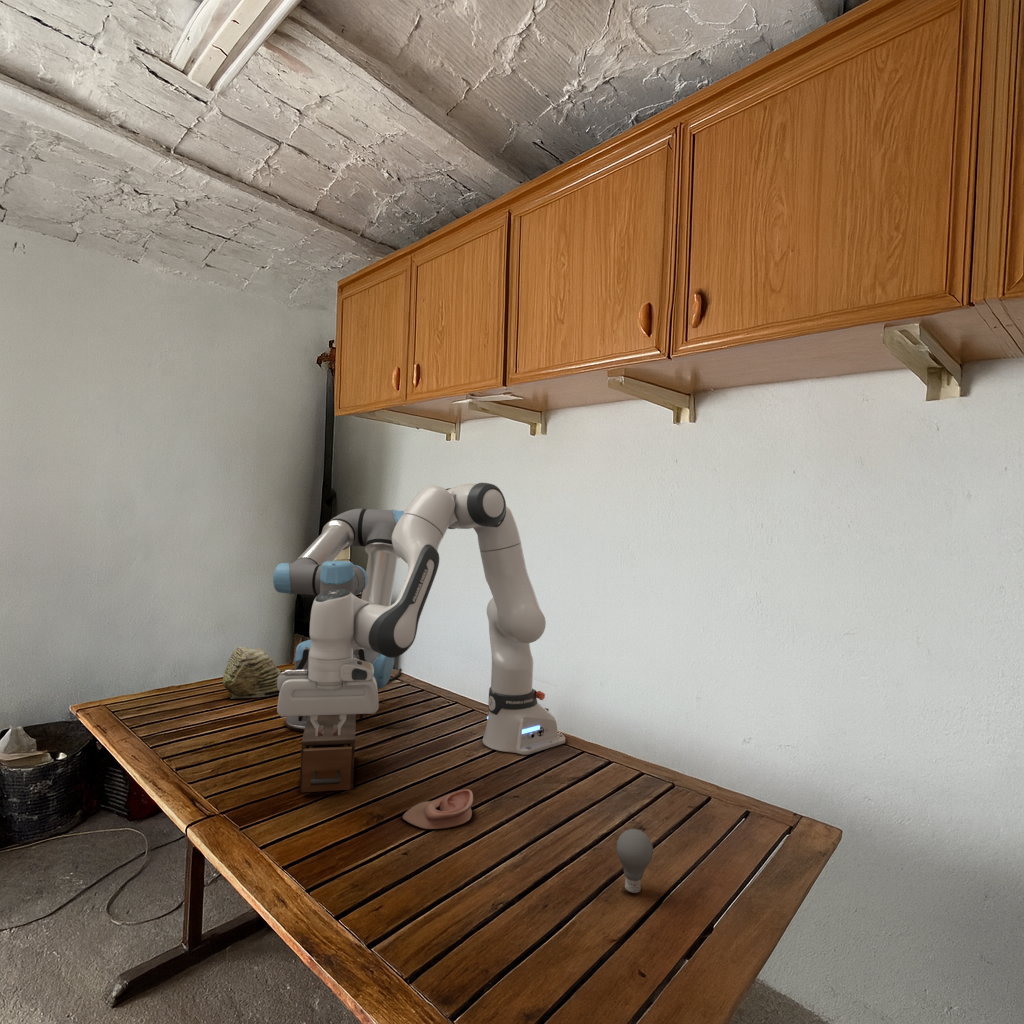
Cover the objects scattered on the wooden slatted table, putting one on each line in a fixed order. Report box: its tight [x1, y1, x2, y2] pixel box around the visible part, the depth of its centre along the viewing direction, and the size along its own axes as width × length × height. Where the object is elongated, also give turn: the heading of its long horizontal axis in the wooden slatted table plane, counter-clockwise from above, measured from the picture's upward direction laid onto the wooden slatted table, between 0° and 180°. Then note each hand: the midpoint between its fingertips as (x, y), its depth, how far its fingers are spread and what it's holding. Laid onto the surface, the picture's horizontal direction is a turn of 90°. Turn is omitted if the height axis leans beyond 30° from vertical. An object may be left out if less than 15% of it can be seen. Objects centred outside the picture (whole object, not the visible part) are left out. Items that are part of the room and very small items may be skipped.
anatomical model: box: [402, 788, 474, 830], centre depth 128 cm, size 13×4×12 cm
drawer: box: [301, 744, 352, 793], centre depth 139 cm, size 20×10×9 cm, turn 13°
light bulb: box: [615, 828, 654, 894], centre depth 106 cm, size 6×6×10 cm
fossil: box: [222, 646, 282, 699], centre depth 198 cm, size 9×18×15 cm, turn 132°
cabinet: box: [299, 714, 357, 793], centre depth 145 cm, size 16×11×11 cm
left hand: (331, 718), depth 148 cm, fingers open, 13 cm apart
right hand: (328, 735), depth 131 cm, fingers closed
